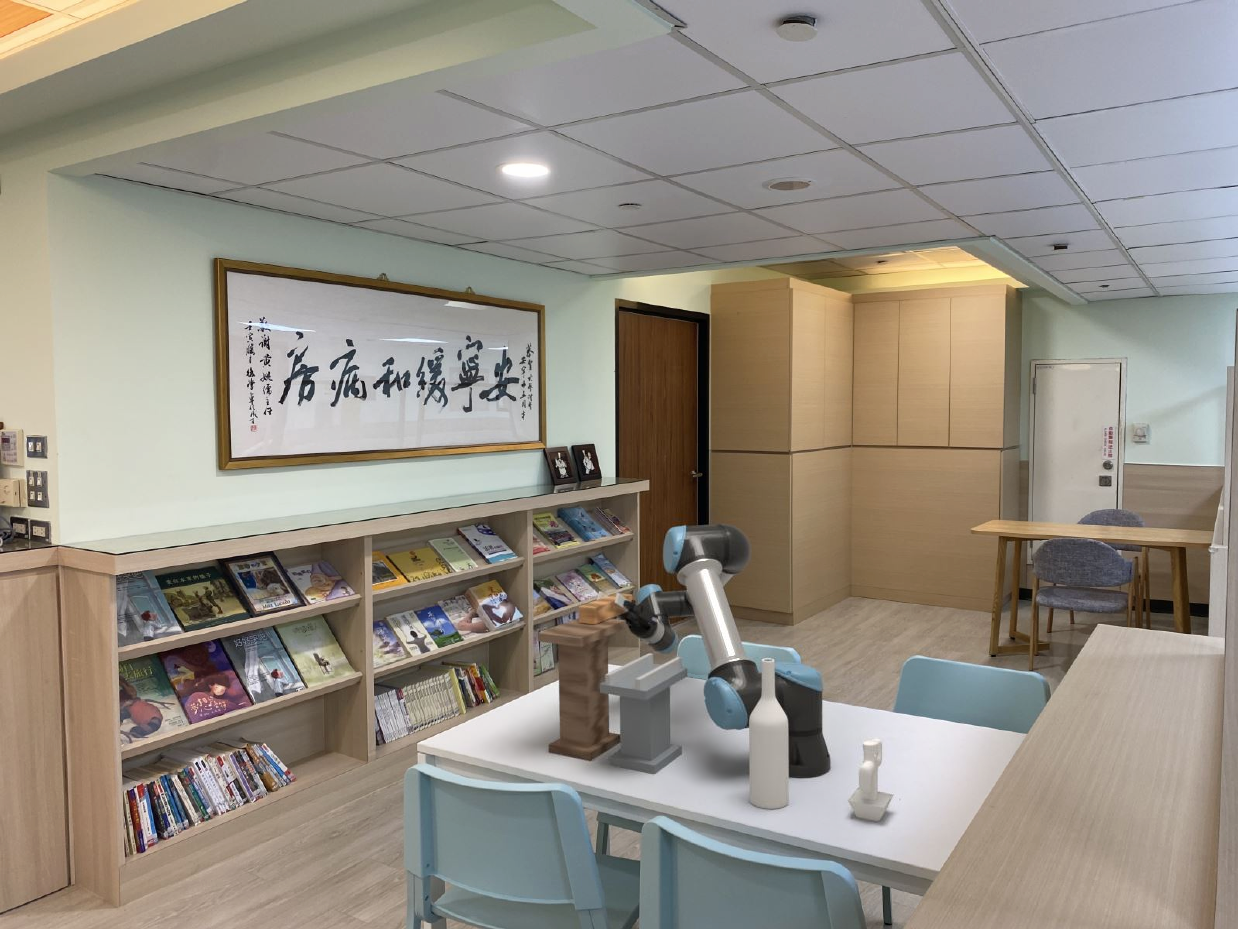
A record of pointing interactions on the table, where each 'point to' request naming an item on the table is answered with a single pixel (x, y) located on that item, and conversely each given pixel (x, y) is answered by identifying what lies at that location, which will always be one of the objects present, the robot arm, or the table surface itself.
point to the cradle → (644, 712)
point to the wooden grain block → (601, 609)
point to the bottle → (768, 746)
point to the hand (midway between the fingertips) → (608, 597)
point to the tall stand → (583, 687)
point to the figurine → (870, 785)
